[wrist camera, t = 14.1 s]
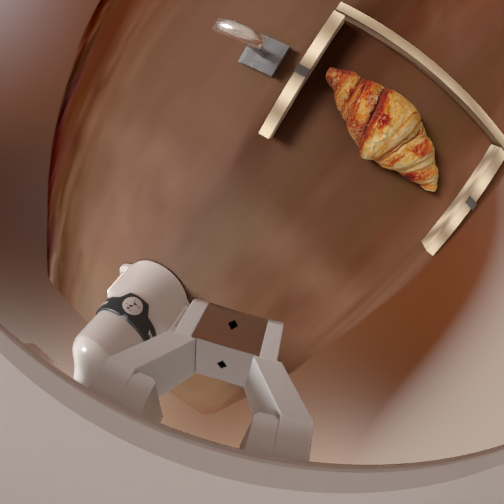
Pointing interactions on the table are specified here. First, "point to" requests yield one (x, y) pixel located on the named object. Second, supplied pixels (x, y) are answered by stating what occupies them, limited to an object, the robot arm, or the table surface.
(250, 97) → the table surface
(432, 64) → the frame
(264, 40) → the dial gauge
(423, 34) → the table surface
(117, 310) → the robot arm
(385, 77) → the table surface
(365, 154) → the croissant
